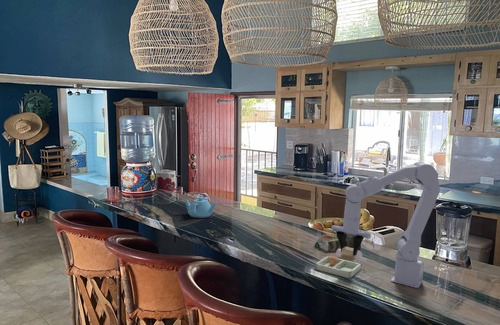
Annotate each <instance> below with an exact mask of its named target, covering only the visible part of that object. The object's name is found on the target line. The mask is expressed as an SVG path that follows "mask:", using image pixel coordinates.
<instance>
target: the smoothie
mask: <svg viewBox="0 0 500 325" xmlns="http://www.w3.org/2000/svg"><path fill="white" fill-rule="evenodd" d="M341 254H342V252H341V249H338V250H337V251H336V252H335V255H336V256H335V257H336V258H339V259H341ZM363 261H368V258H364V257H363V252H362V251H361V250H360V249H358V251H357V255H355V260H353V261H352V262H355V263H359V264H361V265H362V262H363Z"/></svg>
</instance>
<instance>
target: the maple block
mask: <svg viewBox="0 0 500 325" xmlns="http://www.w3.org/2000/svg"><path fill="white" fill-rule="evenodd" d="M353 249H354V248H350V247H344V248H342V254H341V259H343V260H347V261H351V262H352V261H353V260H355V256H354V255H353Z"/></svg>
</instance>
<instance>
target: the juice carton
mask: <svg viewBox="0 0 500 325" xmlns="http://www.w3.org/2000/svg"><path fill="white" fill-rule="evenodd" d="M354 237H356V236H355V235H350V234H347V237H346V243H345V247H350V248H354V239H353V238H354ZM314 247H315V248H320V249H322V250H324V251H325V252H333V251H334V252H335V251H337V250H338V249H341V247H340V243H339V240H338V238H337V233H333V234H324V235H316V239H315V244H314ZM361 248H362V243H361V244H360V246H359V248H358V250H361Z"/></svg>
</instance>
